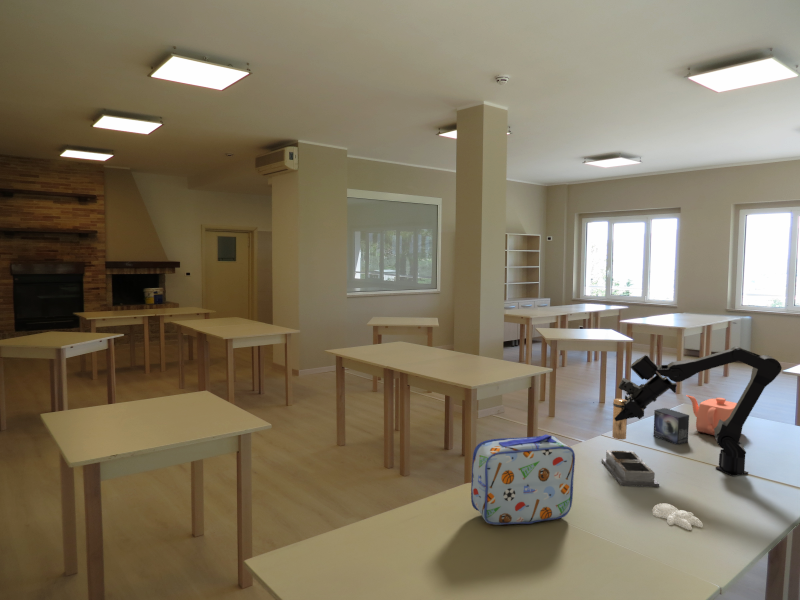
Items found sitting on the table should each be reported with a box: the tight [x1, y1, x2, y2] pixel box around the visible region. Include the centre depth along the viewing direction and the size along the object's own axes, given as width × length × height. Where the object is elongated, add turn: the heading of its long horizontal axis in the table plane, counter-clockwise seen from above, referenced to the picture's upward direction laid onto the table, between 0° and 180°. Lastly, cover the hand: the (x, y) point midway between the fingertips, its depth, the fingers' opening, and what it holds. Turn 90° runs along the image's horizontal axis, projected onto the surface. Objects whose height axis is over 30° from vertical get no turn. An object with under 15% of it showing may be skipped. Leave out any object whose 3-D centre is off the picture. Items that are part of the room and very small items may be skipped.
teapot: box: [685, 394, 738, 436], centre depth 206 cm, size 20×19×14 cm
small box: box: [652, 407, 690, 445], centre depth 196 cm, size 11×6×10 cm, turn 25°
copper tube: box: [611, 398, 628, 440], centre depth 179 cm, size 5×5×13 cm
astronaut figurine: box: [652, 502, 704, 531], centre depth 136 cm, size 9×12×3 cm
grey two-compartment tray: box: [601, 450, 660, 488], centre depth 165 cm, size 19×11×4 cm, turn 176°
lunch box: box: [470, 434, 576, 525], centre depth 136 cm, size 28×10×22 cm, turn 105°
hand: (615, 418), depth 180 cm, fingers closed on copper tube, 4 cm apart
